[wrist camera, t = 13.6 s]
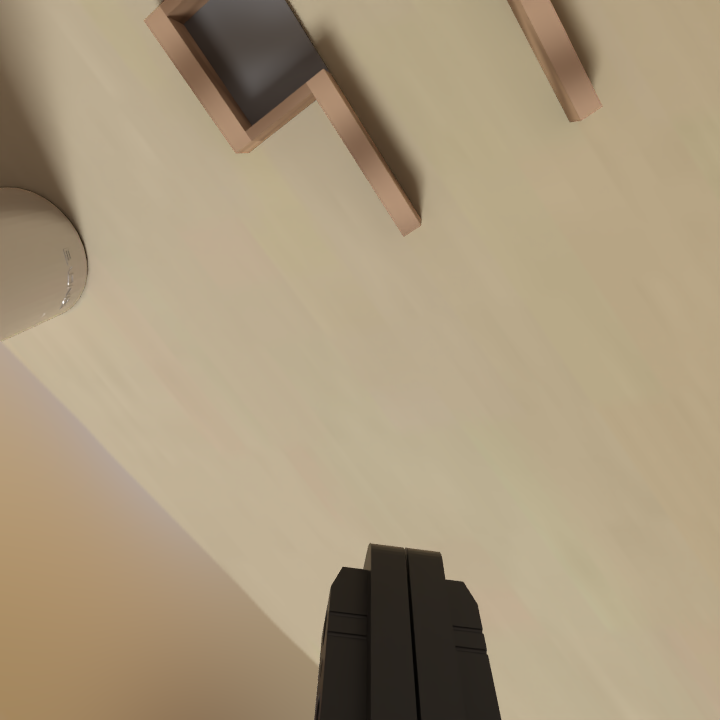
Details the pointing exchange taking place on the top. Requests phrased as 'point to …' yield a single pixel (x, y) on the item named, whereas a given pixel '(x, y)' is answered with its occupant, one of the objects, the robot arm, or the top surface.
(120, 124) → the top surface
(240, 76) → the trap channel
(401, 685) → the robot arm
